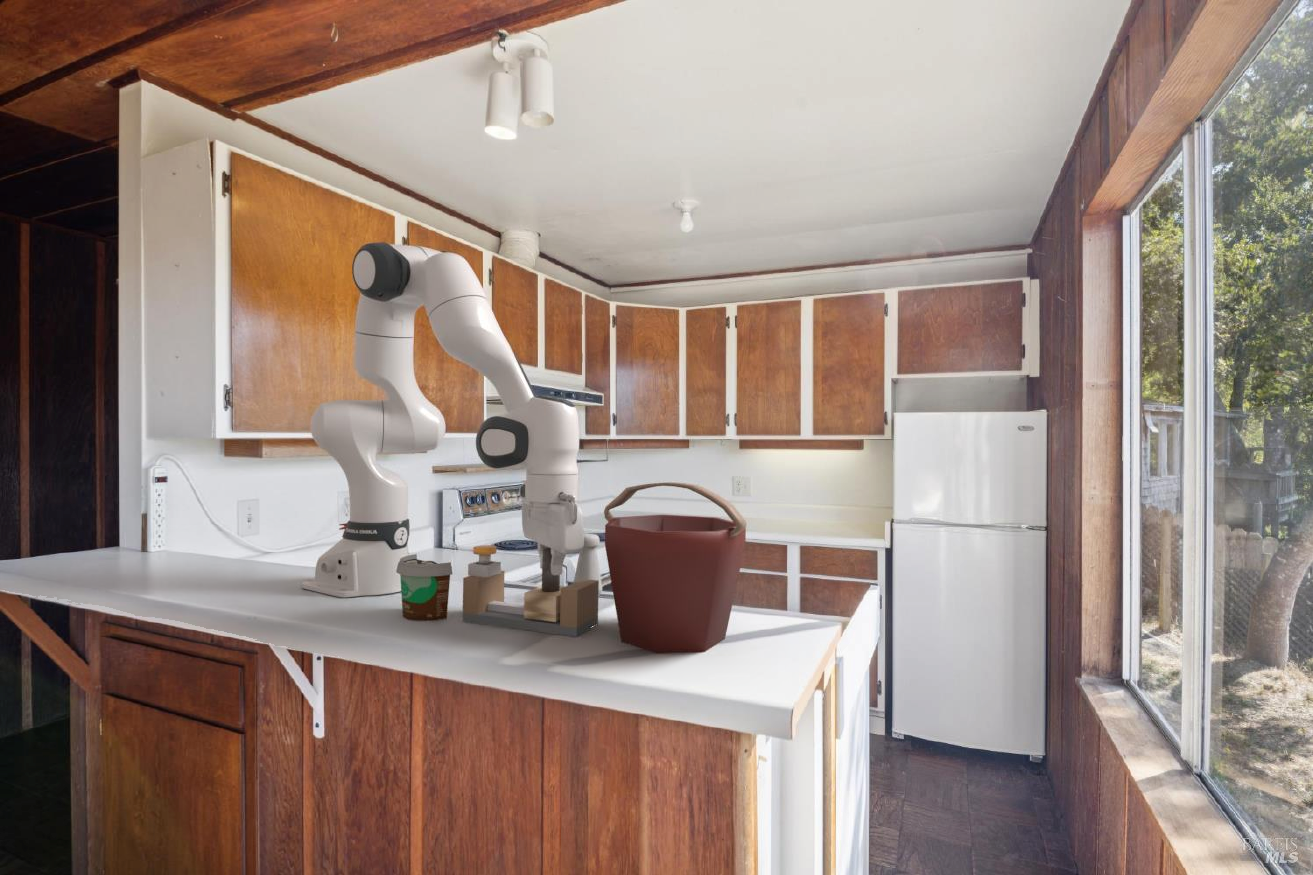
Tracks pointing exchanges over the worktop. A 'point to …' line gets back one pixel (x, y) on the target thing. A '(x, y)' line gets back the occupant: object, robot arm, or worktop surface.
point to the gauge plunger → (484, 553)
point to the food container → (424, 588)
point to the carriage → (544, 594)
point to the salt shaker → (589, 561)
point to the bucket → (674, 574)
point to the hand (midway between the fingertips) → (550, 571)
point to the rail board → (490, 609)
